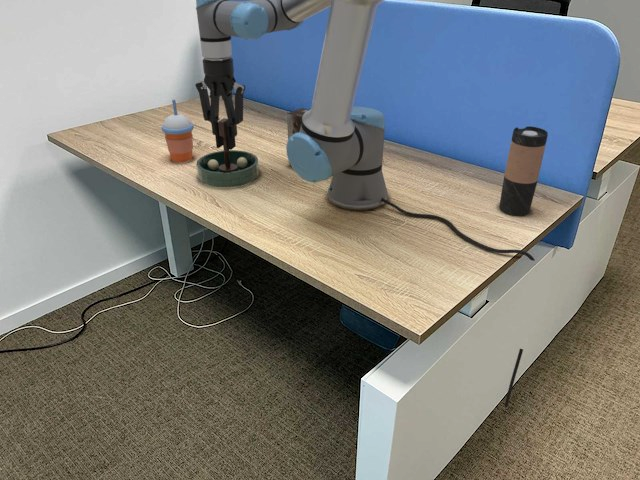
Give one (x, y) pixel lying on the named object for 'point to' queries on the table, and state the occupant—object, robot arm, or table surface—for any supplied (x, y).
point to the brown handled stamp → (225, 148)
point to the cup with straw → (178, 136)
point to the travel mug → (522, 170)
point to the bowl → (228, 178)
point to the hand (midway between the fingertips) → (226, 146)
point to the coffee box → (295, 121)
